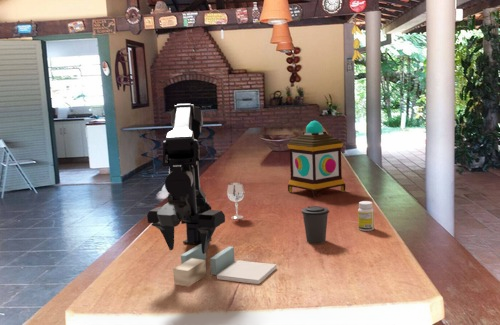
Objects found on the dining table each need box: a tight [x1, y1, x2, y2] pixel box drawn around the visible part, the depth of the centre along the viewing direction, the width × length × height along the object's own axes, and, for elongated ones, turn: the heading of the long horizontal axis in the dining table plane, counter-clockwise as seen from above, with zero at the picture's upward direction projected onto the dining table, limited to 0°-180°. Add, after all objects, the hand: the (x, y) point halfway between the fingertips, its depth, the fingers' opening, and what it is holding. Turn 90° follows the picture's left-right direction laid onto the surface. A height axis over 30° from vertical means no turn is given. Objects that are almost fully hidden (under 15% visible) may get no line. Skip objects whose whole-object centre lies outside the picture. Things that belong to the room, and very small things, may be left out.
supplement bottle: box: [357, 200, 375, 232], centre depth 161 cm, size 5×5×8 cm
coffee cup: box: [300, 205, 330, 245], centre depth 151 cm, size 8×8×10 cm
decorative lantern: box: [286, 120, 346, 199], centre depth 218 cm, size 20×20×30 cm
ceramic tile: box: [216, 259, 278, 285], centre depth 128 cm, size 11×11×1 cm
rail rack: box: [180, 244, 236, 276], centre depth 135 cm, size 10×10×4 cm
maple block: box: [172, 258, 207, 287], centre depth 126 cm, size 8×4×4 cm, turn 154°
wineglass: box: [227, 182, 245, 220], centre depth 183 cm, size 6×6×12 cm
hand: (187, 251), depth 126 cm, fingers open, 9 cm apart
